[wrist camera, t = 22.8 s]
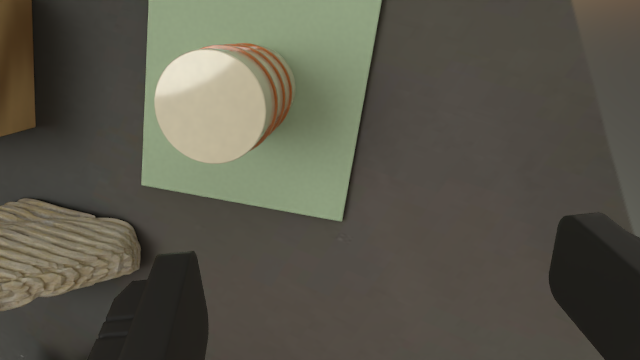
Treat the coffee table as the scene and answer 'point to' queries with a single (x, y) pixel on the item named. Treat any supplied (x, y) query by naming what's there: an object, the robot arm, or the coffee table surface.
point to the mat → (301, 121)
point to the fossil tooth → (59, 251)
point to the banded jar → (223, 100)
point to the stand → (16, 67)
